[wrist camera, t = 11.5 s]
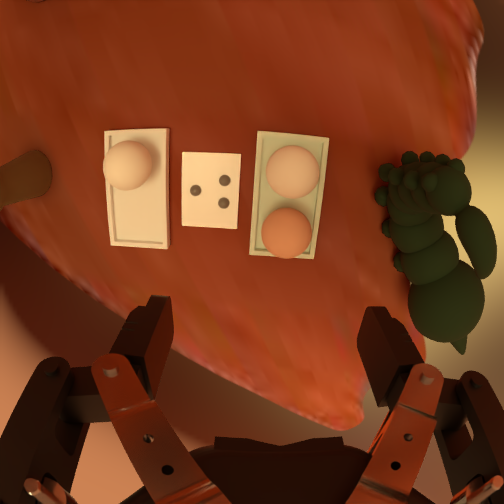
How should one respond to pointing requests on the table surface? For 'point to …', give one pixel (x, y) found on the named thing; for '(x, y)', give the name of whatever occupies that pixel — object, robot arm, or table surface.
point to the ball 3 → (286, 233)
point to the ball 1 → (127, 165)
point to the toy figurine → (437, 244)
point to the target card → (210, 189)
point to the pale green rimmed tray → (271, 201)
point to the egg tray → (141, 194)
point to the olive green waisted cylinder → (24, 178)
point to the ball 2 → (292, 172)
